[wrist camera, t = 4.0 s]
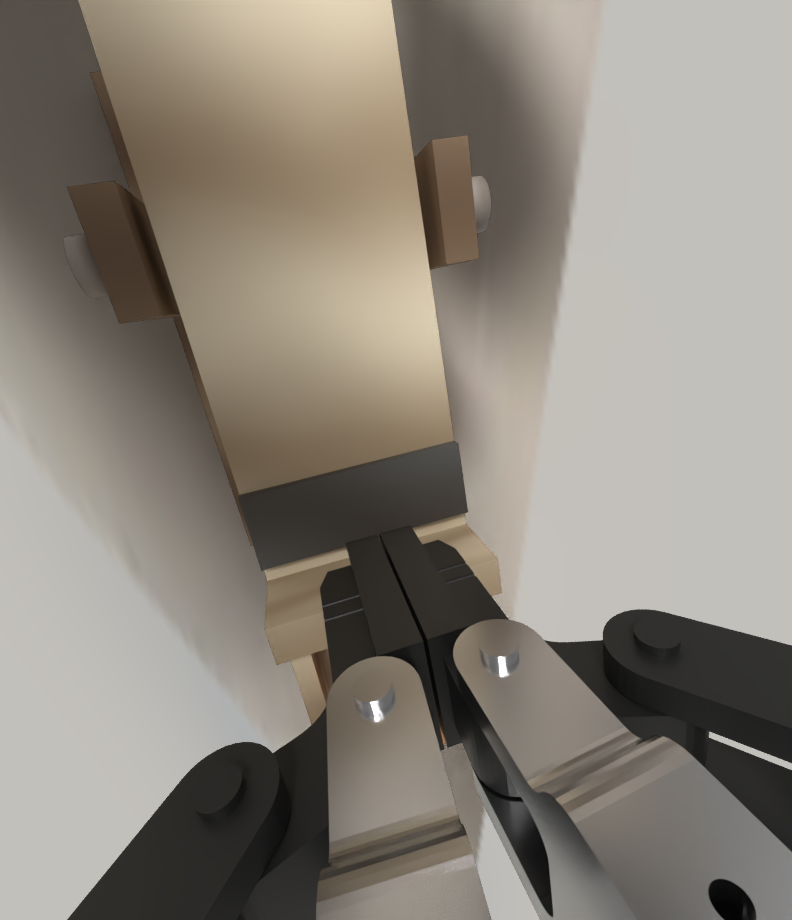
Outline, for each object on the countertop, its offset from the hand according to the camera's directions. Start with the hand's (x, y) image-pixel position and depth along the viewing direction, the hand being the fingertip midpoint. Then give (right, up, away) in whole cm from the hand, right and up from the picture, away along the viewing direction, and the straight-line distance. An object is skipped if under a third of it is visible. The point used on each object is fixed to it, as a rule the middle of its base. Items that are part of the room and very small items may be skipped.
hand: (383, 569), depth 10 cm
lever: (-1, +4, +2) cm, 4 cm away
